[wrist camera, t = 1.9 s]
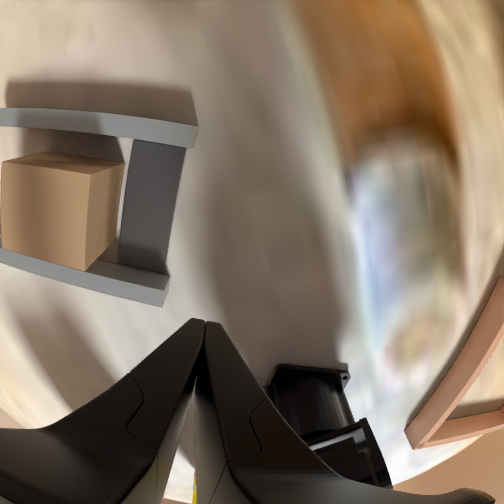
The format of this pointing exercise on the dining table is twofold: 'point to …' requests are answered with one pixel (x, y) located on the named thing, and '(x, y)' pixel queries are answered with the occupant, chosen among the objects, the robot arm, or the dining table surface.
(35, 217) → the walnut block
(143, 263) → the grey u-shaped frame
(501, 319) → the brown rectangular tray
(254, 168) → the dining table surface
